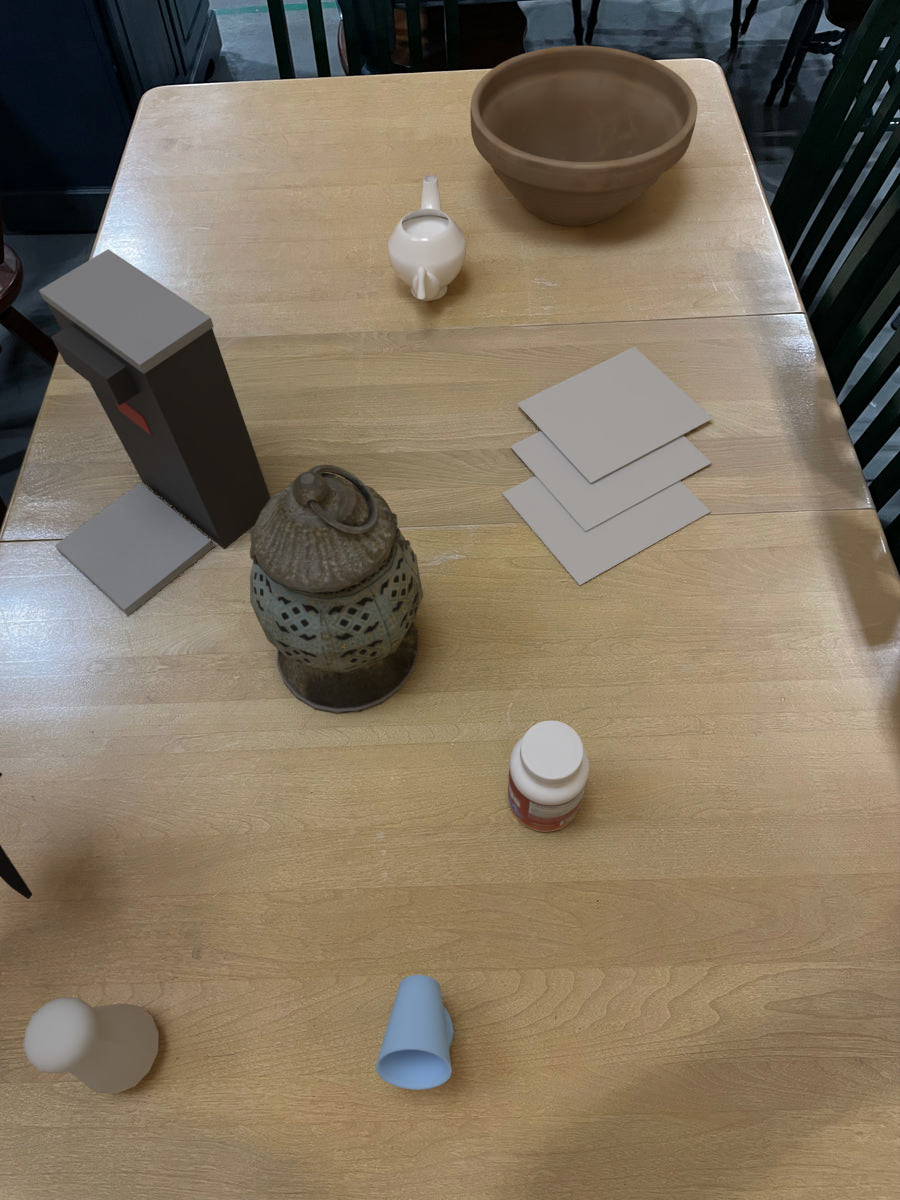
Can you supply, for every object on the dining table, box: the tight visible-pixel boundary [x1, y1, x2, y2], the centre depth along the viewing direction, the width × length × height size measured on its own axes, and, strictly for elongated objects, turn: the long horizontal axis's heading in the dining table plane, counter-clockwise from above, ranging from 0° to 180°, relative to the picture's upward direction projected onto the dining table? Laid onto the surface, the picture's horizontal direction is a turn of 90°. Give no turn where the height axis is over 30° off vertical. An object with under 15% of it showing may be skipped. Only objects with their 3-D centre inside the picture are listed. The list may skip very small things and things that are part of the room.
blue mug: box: [375, 974, 455, 1091], centre depth 59 cm, size 5×10×7 cm
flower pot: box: [469, 45, 698, 227], centre depth 112 cm, size 28×28×13 cm
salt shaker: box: [23, 996, 159, 1095], centre depth 58 cm, size 6×6×13 cm
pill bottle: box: [507, 720, 590, 833], centre depth 68 cm, size 6×6×11 cm
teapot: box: [387, 174, 467, 302], centre depth 104 cm, size 10×20×9 cm, turn 177°
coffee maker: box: [38, 248, 272, 616], centre depth 79 cm, size 19×14×25 cm
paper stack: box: [501, 346, 714, 586], centre depth 92 cm, size 23×25×1 cm
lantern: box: [249, 464, 424, 715], centre depth 70 cm, size 14×14×25 cm
